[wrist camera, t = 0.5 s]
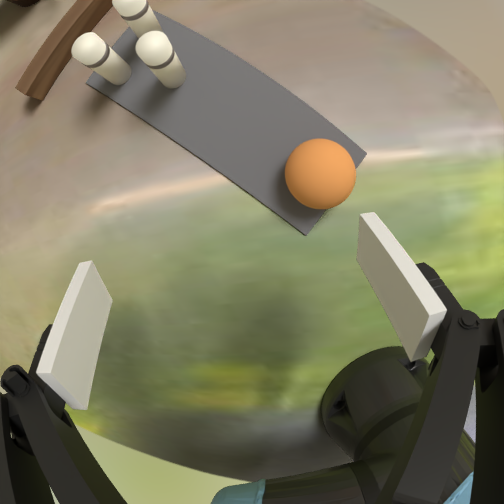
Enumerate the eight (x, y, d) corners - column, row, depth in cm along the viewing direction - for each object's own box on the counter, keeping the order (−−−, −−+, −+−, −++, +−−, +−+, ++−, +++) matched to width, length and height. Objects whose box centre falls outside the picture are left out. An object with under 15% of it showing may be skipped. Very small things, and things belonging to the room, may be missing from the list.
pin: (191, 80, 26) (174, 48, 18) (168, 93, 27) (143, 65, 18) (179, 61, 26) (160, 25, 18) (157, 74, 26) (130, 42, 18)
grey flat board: (366, 153, 29) (367, 153, 28) (305, 235, 30) (306, 235, 30) (147, 8, 24) (146, 7, 24) (86, 83, 26) (85, 82, 25)
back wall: (145, -28, 23) (137, -44, 19) (42, 100, 26) (25, 94, 22) (132, -32, 22) (124, -48, 19) (32, 93, 25) (15, 87, 22)
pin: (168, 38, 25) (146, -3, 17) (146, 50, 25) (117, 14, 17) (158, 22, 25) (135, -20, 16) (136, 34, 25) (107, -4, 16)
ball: (353, 188, 29) (378, 191, 24) (299, 217, 30) (313, 227, 24) (324, 131, 28) (345, 122, 22) (268, 160, 28) (276, 155, 23)
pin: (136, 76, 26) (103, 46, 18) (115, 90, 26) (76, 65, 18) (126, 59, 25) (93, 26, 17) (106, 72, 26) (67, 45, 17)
